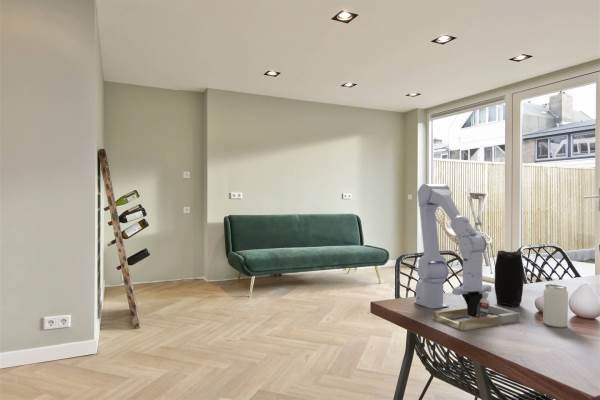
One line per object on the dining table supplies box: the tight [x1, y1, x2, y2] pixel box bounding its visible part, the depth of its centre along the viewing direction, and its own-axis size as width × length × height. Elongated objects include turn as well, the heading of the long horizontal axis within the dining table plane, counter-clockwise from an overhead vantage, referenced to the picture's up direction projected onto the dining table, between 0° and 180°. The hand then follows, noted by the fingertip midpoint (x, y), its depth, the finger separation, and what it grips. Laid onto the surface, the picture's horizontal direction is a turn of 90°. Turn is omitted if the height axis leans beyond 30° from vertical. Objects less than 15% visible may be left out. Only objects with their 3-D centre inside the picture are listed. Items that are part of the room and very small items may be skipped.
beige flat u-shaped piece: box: [433, 306, 500, 331], centre depth 129 cm, size 12×15×2 cm
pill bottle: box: [468, 292, 490, 319], centre depth 131 cm, size 5×5×9 cm
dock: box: [487, 303, 520, 325], centre depth 134 cm, size 12×8×2 cm, turn 25°
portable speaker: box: [494, 250, 524, 309], centre depth 150 cm, size 9×9×20 cm
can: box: [542, 284, 569, 329], centre depth 127 cm, size 6×6×12 cm
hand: (472, 315), depth 129 cm, fingers closed, pressing on pill bottle
